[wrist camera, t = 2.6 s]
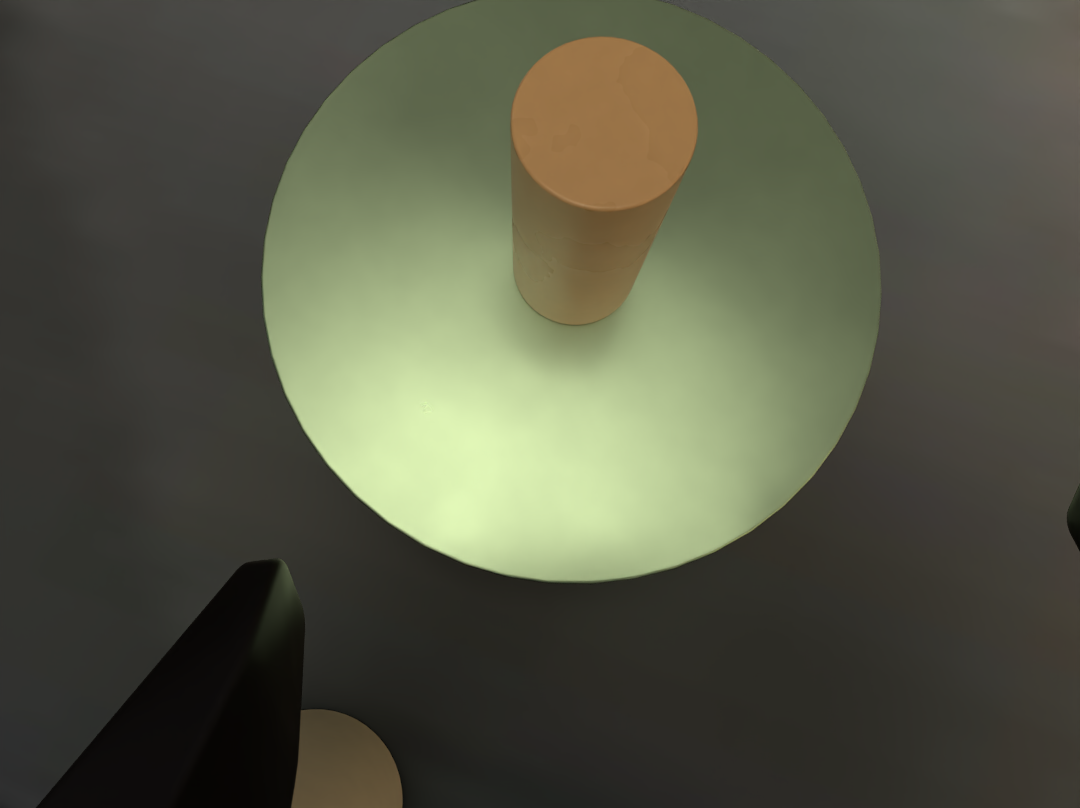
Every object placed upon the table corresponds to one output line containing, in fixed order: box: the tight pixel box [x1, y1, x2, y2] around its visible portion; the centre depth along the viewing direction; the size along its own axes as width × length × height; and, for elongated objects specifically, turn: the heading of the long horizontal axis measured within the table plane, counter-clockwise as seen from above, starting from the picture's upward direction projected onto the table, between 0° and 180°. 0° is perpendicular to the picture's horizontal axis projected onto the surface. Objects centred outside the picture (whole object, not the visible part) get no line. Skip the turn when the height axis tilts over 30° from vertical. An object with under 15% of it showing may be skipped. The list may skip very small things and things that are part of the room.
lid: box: [261, 0, 881, 584], centre depth 14 cm, size 13×13×7 cm
